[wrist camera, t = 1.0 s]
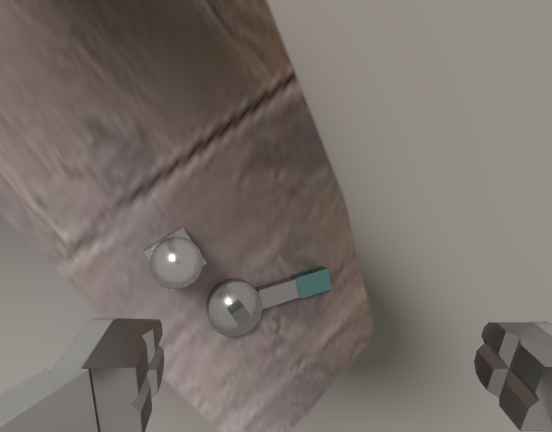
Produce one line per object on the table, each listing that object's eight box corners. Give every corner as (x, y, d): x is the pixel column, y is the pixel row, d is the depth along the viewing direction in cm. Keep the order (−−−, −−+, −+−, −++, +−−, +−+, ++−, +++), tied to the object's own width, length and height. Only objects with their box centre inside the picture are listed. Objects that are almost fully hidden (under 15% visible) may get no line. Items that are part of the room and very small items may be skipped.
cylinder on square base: (144, 248, 42) (139, 257, 33) (181, 225, 43) (185, 228, 35) (168, 283, 43) (169, 299, 34) (203, 259, 44) (213, 269, 36)
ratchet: (213, 337, 45) (219, 353, 39) (201, 287, 44) (206, 296, 39) (328, 298, 50) (347, 308, 45) (319, 253, 49) (337, 257, 44)
